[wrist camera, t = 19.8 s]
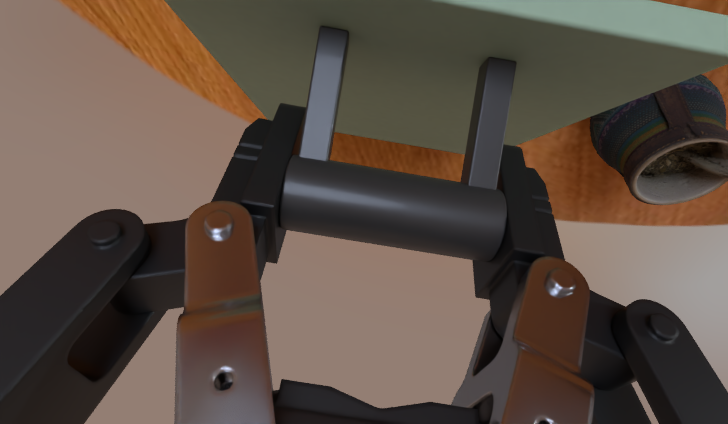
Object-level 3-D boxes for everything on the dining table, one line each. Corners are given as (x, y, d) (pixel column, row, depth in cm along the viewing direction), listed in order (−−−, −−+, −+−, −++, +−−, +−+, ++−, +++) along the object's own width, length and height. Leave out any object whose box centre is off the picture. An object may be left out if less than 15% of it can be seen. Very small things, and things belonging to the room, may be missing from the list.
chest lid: (114, -107, 7) (63, 203, 7) (753, 17, 8) (706, 305, 8) (270, 106, 21) (253, 207, 21) (486, 143, 22) (470, 243, 22)
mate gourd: (575, 70, 27) (624, 170, 20) (712, 28, 24) (819, 127, 18) (581, 148, 32) (623, 249, 25) (696, 119, 29) (776, 225, 22)
